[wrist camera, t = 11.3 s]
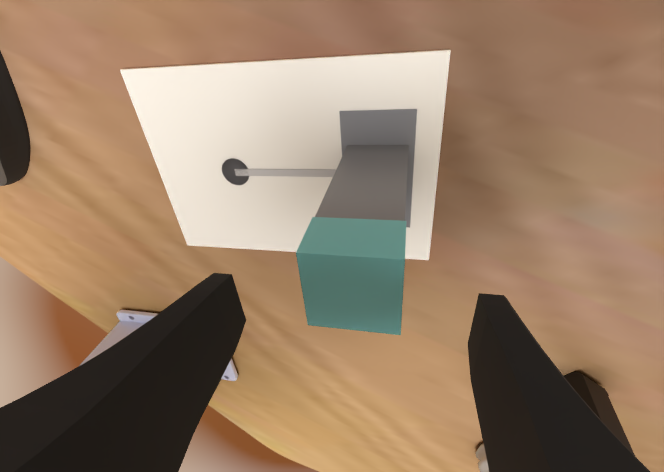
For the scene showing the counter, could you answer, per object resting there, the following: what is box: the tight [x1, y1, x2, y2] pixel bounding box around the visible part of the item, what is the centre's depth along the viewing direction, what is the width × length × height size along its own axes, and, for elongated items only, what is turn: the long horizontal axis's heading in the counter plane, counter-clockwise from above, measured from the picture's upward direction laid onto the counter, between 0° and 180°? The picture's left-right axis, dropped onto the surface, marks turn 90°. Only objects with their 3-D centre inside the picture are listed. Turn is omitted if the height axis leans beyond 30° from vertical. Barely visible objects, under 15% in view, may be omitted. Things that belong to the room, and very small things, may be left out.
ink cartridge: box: [564, 372, 635, 456], centre depth 22 cm, size 5×2×8 cm, turn 148°
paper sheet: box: [120, 50, 451, 260], centre depth 19 cm, size 16×11×1 cm
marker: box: [296, 145, 409, 335], centre depth 14 cm, size 3×3×9 cm
